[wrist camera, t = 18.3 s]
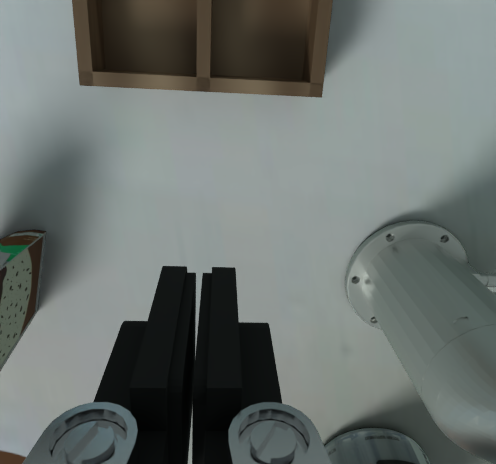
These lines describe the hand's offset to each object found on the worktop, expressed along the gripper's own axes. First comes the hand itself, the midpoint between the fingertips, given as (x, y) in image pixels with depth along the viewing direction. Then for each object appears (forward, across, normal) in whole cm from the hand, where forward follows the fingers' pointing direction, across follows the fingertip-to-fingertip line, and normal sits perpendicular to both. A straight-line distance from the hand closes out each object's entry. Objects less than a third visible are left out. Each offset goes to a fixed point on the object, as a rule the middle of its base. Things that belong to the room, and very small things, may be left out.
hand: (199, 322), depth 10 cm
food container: (+31, +20, +15) cm, 40 cm away
